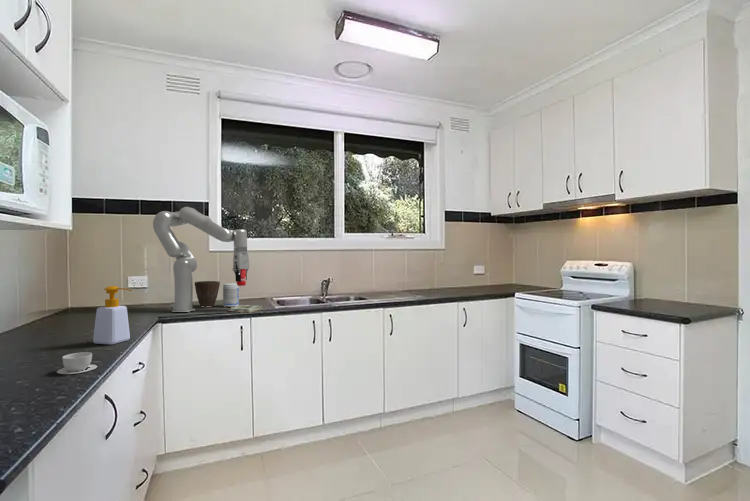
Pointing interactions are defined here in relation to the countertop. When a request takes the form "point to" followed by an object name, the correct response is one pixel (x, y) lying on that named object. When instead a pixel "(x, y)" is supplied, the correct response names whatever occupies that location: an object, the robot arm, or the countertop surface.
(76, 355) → the teacup
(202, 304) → the plant pot
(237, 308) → the base plate
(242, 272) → the beverage can
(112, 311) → the soap bottle
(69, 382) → the countertop surface
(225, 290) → the supplement tub
